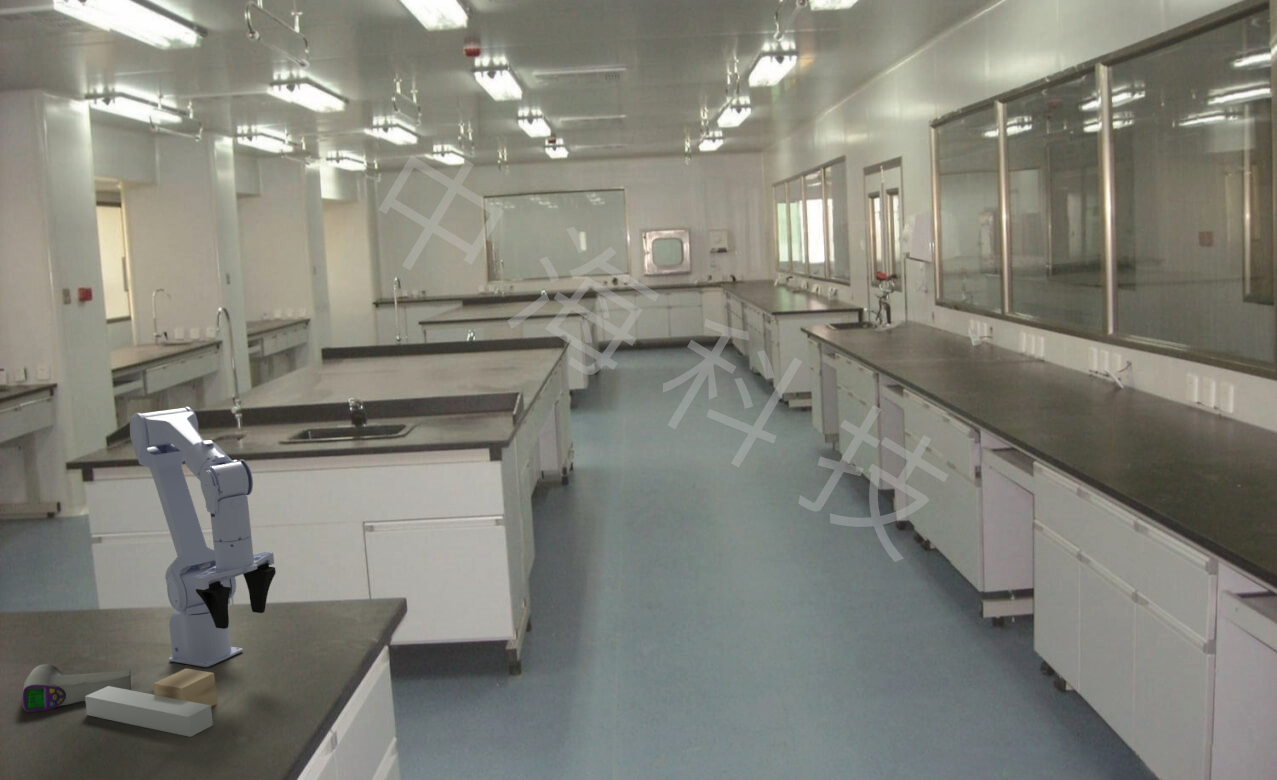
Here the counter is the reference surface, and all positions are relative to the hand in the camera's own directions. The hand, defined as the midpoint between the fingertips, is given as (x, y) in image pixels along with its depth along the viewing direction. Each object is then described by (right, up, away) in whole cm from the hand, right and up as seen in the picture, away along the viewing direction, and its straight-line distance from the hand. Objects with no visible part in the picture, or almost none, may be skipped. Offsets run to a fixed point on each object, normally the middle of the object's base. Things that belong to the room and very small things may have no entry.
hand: (240, 619), depth 168 cm
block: (-4, -12, -10) cm, 16 cm away
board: (-9, -12, -13) cm, 20 cm away
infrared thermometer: (-26, -12, 0) cm, 29 cm away
